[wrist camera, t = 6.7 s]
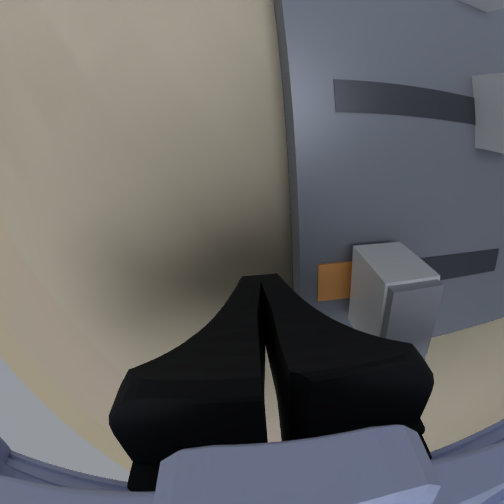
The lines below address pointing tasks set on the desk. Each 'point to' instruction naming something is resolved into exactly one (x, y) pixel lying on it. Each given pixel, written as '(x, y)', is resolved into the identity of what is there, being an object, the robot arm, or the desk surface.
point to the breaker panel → (396, 145)
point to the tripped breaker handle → (394, 294)
